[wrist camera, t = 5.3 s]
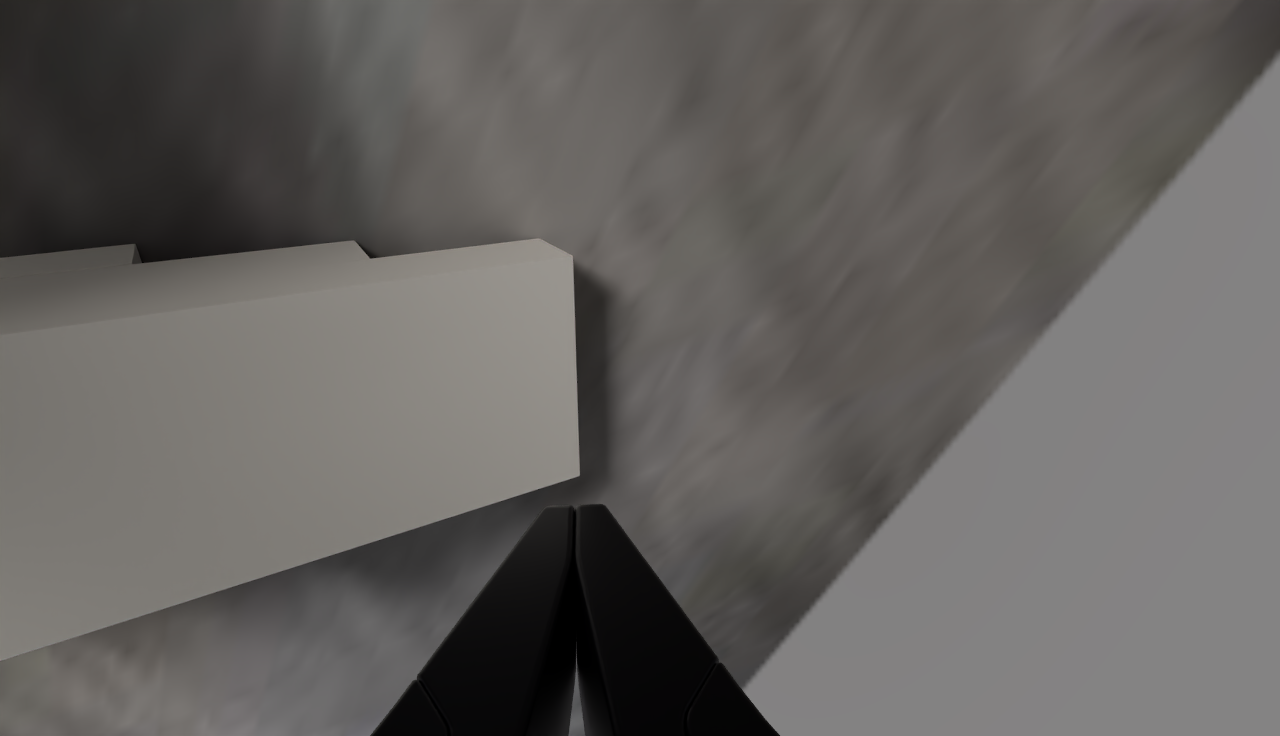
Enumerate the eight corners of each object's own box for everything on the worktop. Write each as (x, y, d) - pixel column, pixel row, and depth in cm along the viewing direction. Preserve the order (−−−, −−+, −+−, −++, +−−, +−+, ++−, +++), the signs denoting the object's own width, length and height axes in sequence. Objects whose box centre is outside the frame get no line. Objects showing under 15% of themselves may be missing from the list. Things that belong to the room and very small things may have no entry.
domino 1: (391, 448, 15) (-246, 614, 10) (354, 240, 13) (-465, 328, 8) (407, 483, 14) (-306, 689, 9) (369, 258, 12) (-583, 376, 7)
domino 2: (549, 442, 16) (3, 597, 11) (538, 238, 13) (-146, 320, 9) (579, 476, 14) (-24, 668, 10) (573, 255, 12) (-205, 363, 7)
